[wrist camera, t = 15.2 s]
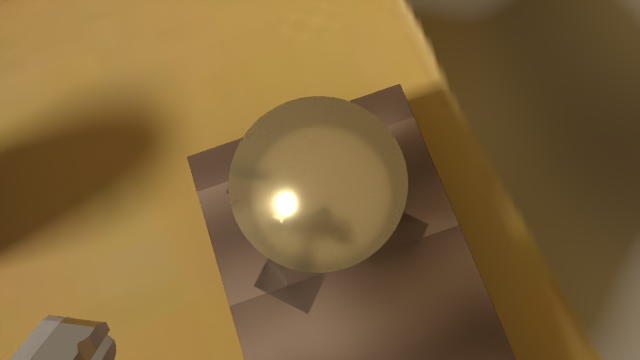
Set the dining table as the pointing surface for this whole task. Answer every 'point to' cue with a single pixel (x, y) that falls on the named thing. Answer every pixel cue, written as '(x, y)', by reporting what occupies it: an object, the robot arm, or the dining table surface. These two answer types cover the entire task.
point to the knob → (318, 184)
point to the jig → (359, 274)
